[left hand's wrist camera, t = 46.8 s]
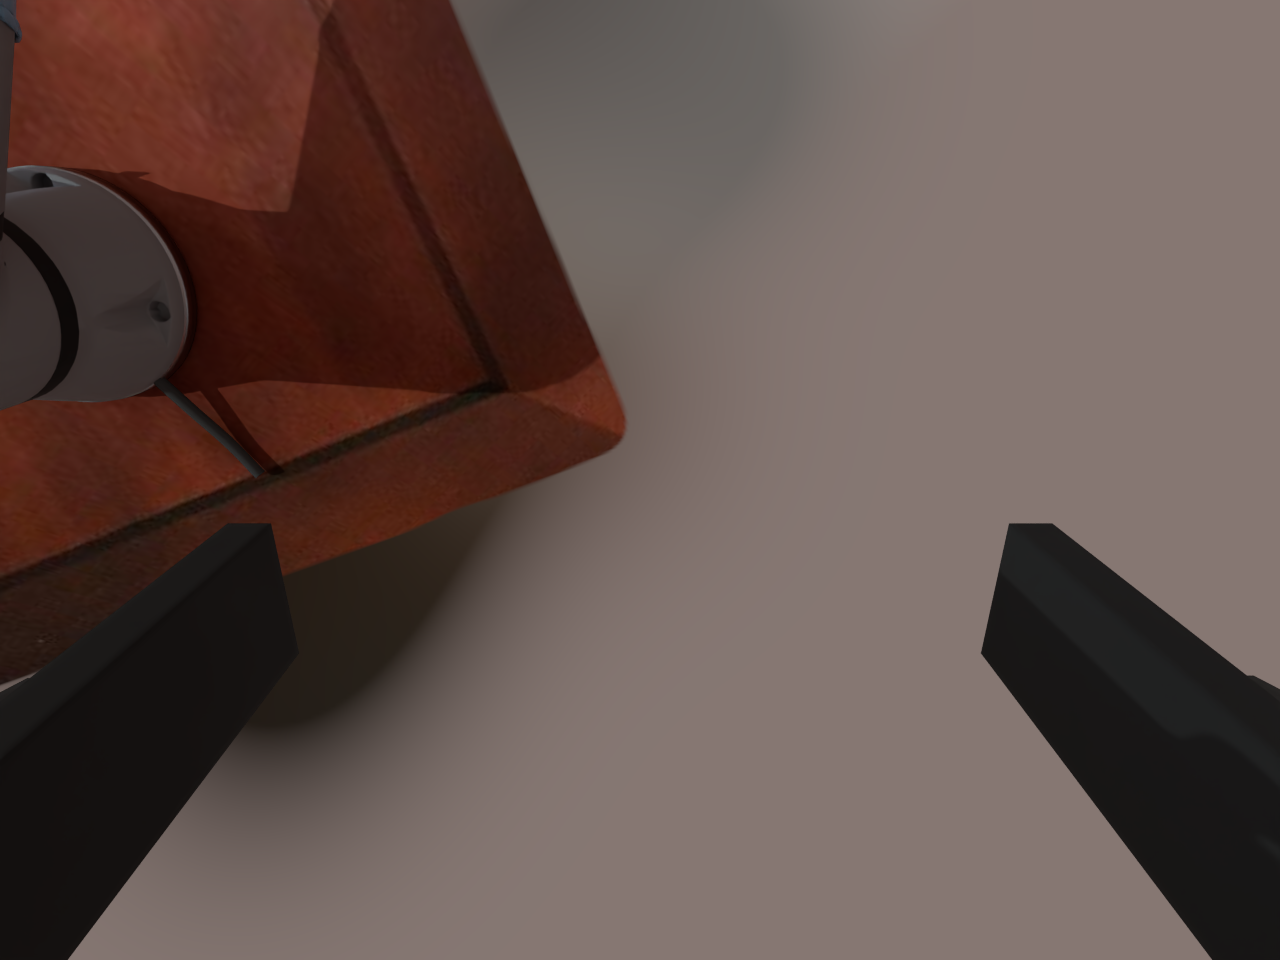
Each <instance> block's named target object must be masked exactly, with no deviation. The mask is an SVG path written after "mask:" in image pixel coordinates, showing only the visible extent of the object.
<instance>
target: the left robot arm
mask: <svg viewBox="0 0 1280 960" xmlns="http://www.w3.org/2000/svg"><path fill="white" fill-rule="evenodd" d="M21 38H22V32H21V28H20V25H19V23H18V21H17V19H16V0H0V410H3V409H6V408H9V407H11V406H14V405H17V404H20V403H23V402H26V401H29V400H32V399H34V400H57V401H79V402H103V401H111V400H117V399H123V398H127V397H130V396H133V395H136V394H139V393H141V392H144V391H146V390H149V389H151V388H154V387H156V386H157V387H158V388H159V389H160V390H161V391H162V392H163V393H165V394H166V395H167V396H168V397H169V398H170V399H171V400H172V401H173V402H175V403H176V404H177V405H178V406H179V407H180V408H181V409H182V410H184V411H185V412H186V413H187V414H188V415H189V416H190V417H191V418H193V419H194V420H195V421H196V422H197V423H198V424H200V425H201V426H202V427H203V428H204V429H205V430H207V431H208V432H209V433H210V434H211V435H213V436H214V437H215V438H216V439H217V440H218V441H219V442H220V443H221V444H223V445H224V446H225V447H226V448H227V449H228V450H229V451H230V452H231V453H232V454H233V455H234V456H235V457H236V458H237V459H238V460H239V461H240V462H241V463H242V464H243V465H244V466H245V467H246V468H247V470H248V471H249V472H250V473H251V474H252V475H253V476H254V477H255V478H256V477H258V476H259V475H260V474H262V473H263V472H264V470H263V469H262V468H261V467H260V466H259V465H258V463H257V462H256V461H255V460H254V459H253V458H252V457H251V456H250V455H249V454H248V453H247V452H246V451H245V450H244V449H243V448H242V447H241V446H240V445H239V444H238V443H237V442H236V441H235V440H234V439H233V438H232V437H231V436H230V435H229V434H228V433H226V432H225V431H224V430H223V429H222V428H221V427H220V426H219V425H217V424H216V423H215V422H214V421H213V420H212V419H210V418H209V417H208V416H207V415H206V414H205V413H204V412H202V411H201V410H200V409H199V408H198V407H197V406H196V405H195V404H193V403H192V402H191V401H190V400H189V399H188V398H187V397H186V396H185V395H183V394H182V393H181V392H180V391H179V390H178V389H177V388H176V387H175V386H174V385H172V384H171V383H170V382H169V381H168V380H167V379H168V378H169V377H170V376H171V375H173V374H174V373H175V372H176V371H177V369H178V368H179V367H180V366H181V364H182V363H183V361H184V360H185V358H186V357H187V355H188V353H189V351H190V348H191V346H192V343H193V340H194V335H195V331H196V323H197V305H196V296H195V291H194V286H193V283H192V279H191V276H190V273H189V271H188V268H187V265H186V263H185V261H184V259H183V257H182V255H181V253H180V251H179V249H178V248H177V246H176V244H175V242H174V241H173V240H172V238H171V237H170V235H169V234H168V232H167V231H166V230H165V229H164V227H163V226H162V225H161V224H160V222H159V221H158V220H157V219H156V218H155V217H154V216H153V215H152V214H151V213H150V212H149V211H148V210H147V209H146V208H145V207H144V206H143V205H141V204H140V203H139V202H138V201H137V200H135V199H134V198H133V197H131V196H130V195H129V194H127V193H126V192H124V191H123V190H121V189H120V188H118V187H116V186H114V185H113V184H111V183H109V182H107V181H105V180H103V179H101V178H98V177H96V176H94V175H91V174H88V173H85V172H82V171H78V170H74V169H68V168H62V167H49V166H18V167H13V168H7V162H8V145H9V127H10V110H11V92H12V75H13V57H14V42H15V43H19V42H20V41H21ZM298 654H299V651H298V647H297V642H296V637H295V633H294V628H293V623H292V619H291V614H290V610H289V605H288V600H287V596H286V591H285V586H284V582H283V577H282V573H281V568H280V563H279V559H278V554H277V550H276V545H275V540H274V536H273V531H272V526H271V524H227V525H225V526H224V527H223V528H221V529H220V530H219V531H218V532H216V533H215V534H214V535H212V536H211V537H210V538H209V539H207V540H206V541H205V542H203V543H202V544H201V545H200V546H198V547H197V548H196V549H195V550H193V551H192V552H191V553H189V554H188V555H187V556H186V557H184V558H183V559H182V560H180V561H179V562H178V563H177V564H175V565H174V566H173V567H172V568H170V569H169V570H168V571H166V572H165V573H164V574H163V575H161V576H160V577H159V578H157V579H156V580H155V581H154V582H152V583H151V584H150V585H148V586H147V587H146V588H145V589H143V590H142V591H141V592H140V593H138V594H137V595H136V596H134V597H133V598H132V599H131V600H129V601H128V602H127V603H125V604H124V605H123V606H122V607H120V608H119V609H118V610H116V611H115V612H114V613H113V614H111V615H110V616H109V617H108V618H106V619H105V620H104V621H102V622H101V623H100V624H99V625H97V626H96V627H95V628H93V629H92V630H91V631H90V632H88V633H87V634H86V635H85V636H83V637H82V638H81V639H79V640H78V641H77V642H76V643H74V644H73V645H72V646H70V647H69V648H68V649H67V650H65V651H64V652H63V653H61V654H60V655H59V656H58V657H56V658H55V659H54V660H53V661H51V662H50V663H49V664H47V665H46V666H45V667H44V668H42V669H41V670H40V671H38V672H37V673H36V674H35V675H33V676H32V677H31V678H27V679H25V680H23V681H21V682H19V683H17V684H15V685H13V686H11V687H9V688H8V689H6V690H4V691H2V692H0V960H68V959H69V957H70V956H71V955H72V953H73V952H74V951H75V949H76V948H77V947H78V945H79V944H80V943H81V941H82V940H83V939H84V937H85V936H86V935H87V933H88V932H89V931H90V929H91V928H92V927H93V925H94V924H95V923H96V922H97V920H98V919H99V918H100V916H101V915H102V914H103V912H104V911H105V910H106V908H107V907H108V906H109V904H110V903H111V902H112V900H113V899H114V898H115V896H116V895H117V894H118V892H119V891H120V890H121V888H122V887H123V886H124V884H125V883H126V882H127V880H128V879H129V878H130V876H131V875H132V874H133V872H134V871H135V870H136V868H137V867H138V866H139V865H140V863H141V862H142V861H143V859H144V858H145V857H146V855H147V854H148V853H149V851H150V850H151V849H152V847H153V846H154V845H155V843H156V842H157V841H158V839H159V838H160V837H161V835H162V834H163V833H164V831H165V830H166V829H167V827H168V826H169V825H170V823H171V822H172V821H173V820H174V818H175V817H176V815H177V814H178V813H179V811H180V810H181V809H182V808H183V806H184V805H185V804H186V802H187V801H188V800H189V798H190V797H191V796H192V794H193V793H194V792H195V790H196V789H197V788H198V786H199V785H200V784H201V782H202V781H203V780H204V778H205V777H206V776H207V774H208V773H209V772H210V770H211V769H212V768H213V766H214V765H215V764H216V763H217V761H218V760H219V758H220V757H221V756H222V755H223V753H224V752H225V751H226V749H227V748H228V747H229V745H230V744H231V743H232V741H233V740H234V739H235V737H236V736H237V735H238V733H239V732H240V731H241V729H242V728H243V727H244V725H245V724H246V723H247V721H248V720H249V719H250V717H251V716H252V715H253V713H254V712H255V711H256V710H257V708H258V707H259V705H260V704H261V703H262V702H263V700H264V699H265V698H266V696H267V695H268V694H269V692H270V691H271V690H272V688H273V687H274V686H275V684H276V683H277V682H278V680H279V679H280V678H281V676H282V675H283V674H284V672H285V671H286V670H287V668H288V667H289V666H290V664H291V663H292V662H293V660H294V659H295V658H296V657H297V655H298ZM981 654H982V655H983V657H984V658H985V659H986V660H987V662H988V663H989V664H990V666H991V667H992V668H993V670H994V671H995V672H996V674H997V675H998V676H999V678H1000V679H1001V680H1002V682H1003V683H1004V684H1005V686H1006V687H1007V688H1008V690H1009V691H1010V692H1011V694H1012V695H1013V696H1014V697H1015V699H1016V700H1017V702H1018V703H1019V704H1020V706H1021V707H1022V708H1023V709H1024V711H1025V712H1026V713H1027V715H1028V716H1029V717H1030V719H1031V720H1032V721H1033V723H1034V724H1035V725H1036V727H1037V728H1038V729H1039V731H1040V732H1041V733H1042V735H1043V736H1044V737H1045V739H1046V740H1047V741H1048V743H1049V744H1050V745H1051V747H1052V748H1053V749H1054V751H1055V752H1056V753H1057V755H1058V756H1059V757H1060V758H1061V760H1062V761H1063V763H1064V764H1065V765H1066V766H1067V768H1068V769H1069V770H1070V772H1071V773H1072V774H1073V776H1074V777H1075V778H1076V780H1077V781H1078V782H1079V784H1080V785H1081V786H1082V788H1083V789H1084V790H1085V792H1086V793H1087V794H1088V796H1089V797H1090V798H1091V800H1092V801H1093V802H1094V804H1095V805H1096V806H1097V808H1098V809H1099V810H1100V812H1101V813H1102V814H1103V816H1104V817H1105V818H1106V820H1107V821H1108V822H1109V823H1110V825H1111V826H1112V827H1113V829H1114V830H1115V831H1116V833H1117V834H1118V835H1119V837H1120V838H1121V839H1122V841H1123V842H1124V843H1125V845H1126V846H1127V847H1128V849H1129V850H1130V851H1131V853H1132V854H1133V855H1134V857H1135V858H1136V859H1137V861H1138V862H1139V863H1140V865H1141V866H1142V867H1143V869H1144V870H1145V871H1146V873H1147V874H1148V875H1149V877H1150V878H1151V879H1152V880H1153V882H1154V883H1155V884H1156V886H1157V887H1158V888H1159V890H1160V891H1161V892H1162V894H1163V895H1164V896H1165V898H1166V899H1167V900H1168V902H1169V903H1170V904H1171V906H1172V907H1173V908H1174V910H1175V911H1176V912H1177V914H1178V915H1179V916H1180V918H1181V919H1182V920H1183V922H1184V923H1185V924H1186V925H1187V927H1188V928H1189V930H1190V931H1191V932H1192V933H1193V935H1194V936H1195V937H1196V939H1197V940H1198V941H1199V943H1200V944H1201V945H1202V947H1203V948H1204V949H1205V951H1206V952H1207V953H1208V955H1209V956H1210V957H1211V959H1212V960H1280V689H1278V688H1276V687H1274V686H1273V685H1271V684H1269V683H1267V682H1265V681H1263V680H1261V679H1259V678H1257V677H1255V676H1247V675H1245V674H1244V673H1243V672H1241V671H1240V670H1239V669H1238V668H1236V667H1235V666H1234V665H1233V664H1231V663H1230V662H1229V661H1227V660H1226V659H1225V658H1224V657H1222V656H1221V655H1220V654H1218V653H1217V652H1216V651H1215V650H1213V649H1212V648H1211V647H1209V646H1208V645H1207V644H1206V643H1204V642H1203V641H1202V640H1201V639H1199V638H1198V637H1197V636H1195V635H1194V634H1193V633H1192V632H1190V631H1189V630H1188V629H1187V628H1185V627H1184V626H1183V625H1181V624H1180V623H1179V622H1178V621H1176V620H1175V619H1174V618H1172V617H1171V616H1170V615H1169V614H1167V613H1166V612H1165V611H1163V610H1162V609H1161V608H1159V607H1158V606H1157V605H1156V604H1155V603H1153V602H1152V601H1151V600H1149V599H1148V598H1147V597H1146V596H1144V595H1143V594H1142V593H1140V592H1139V591H1138V590H1137V589H1135V588H1134V587H1133V586H1132V585H1130V584H1129V583H1128V582H1126V581H1125V580H1124V579H1123V578H1121V577H1120V576H1119V575H1117V574H1116V573H1115V572H1114V571H1112V570H1111V569H1110V568H1108V567H1107V566H1106V565H1105V564H1103V563H1102V562H1101V561H1099V560H1098V559H1097V558H1096V557H1094V556H1093V555H1092V554H1091V553H1089V552H1088V551H1087V550H1085V549H1084V548H1083V547H1082V546H1080V545H1079V544H1078V543H1077V542H1075V541H1074V540H1073V539H1071V538H1070V537H1069V536H1067V535H1066V534H1065V533H1064V532H1062V531H1061V530H1060V529H1059V528H1057V527H1056V526H1055V525H1053V524H1009V526H1008V531H1007V536H1006V540H1005V545H1004V550H1003V554H1002V559H1001V563H1000V568H999V573H998V577H997V582H996V586H995V591H994V596H993V600H992V605H991V610H990V614H989V619H988V624H987V628H986V633H985V637H984V642H983V647H982V651H981Z"/></svg>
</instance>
